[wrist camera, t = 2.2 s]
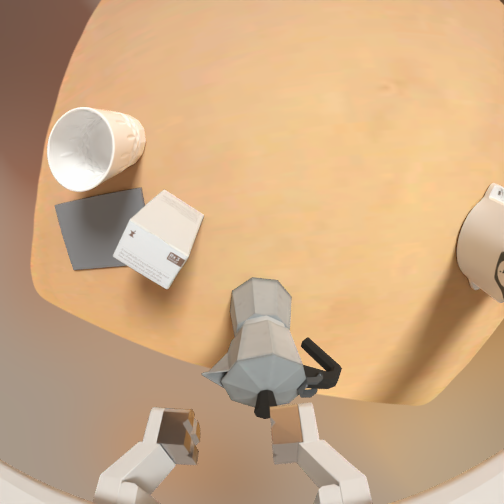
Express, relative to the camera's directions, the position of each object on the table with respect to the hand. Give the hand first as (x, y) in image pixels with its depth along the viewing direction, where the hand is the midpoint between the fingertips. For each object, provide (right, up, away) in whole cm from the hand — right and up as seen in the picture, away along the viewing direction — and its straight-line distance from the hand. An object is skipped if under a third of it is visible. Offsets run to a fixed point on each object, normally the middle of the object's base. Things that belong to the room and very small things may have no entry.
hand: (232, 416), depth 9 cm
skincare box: (-8, +11, +25) cm, 28 cm away
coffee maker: (+3, -1, +31) cm, 31 cm away
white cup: (-15, +19, +21) cm, 32 cm away
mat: (-19, +9, +26) cm, 33 cm away
